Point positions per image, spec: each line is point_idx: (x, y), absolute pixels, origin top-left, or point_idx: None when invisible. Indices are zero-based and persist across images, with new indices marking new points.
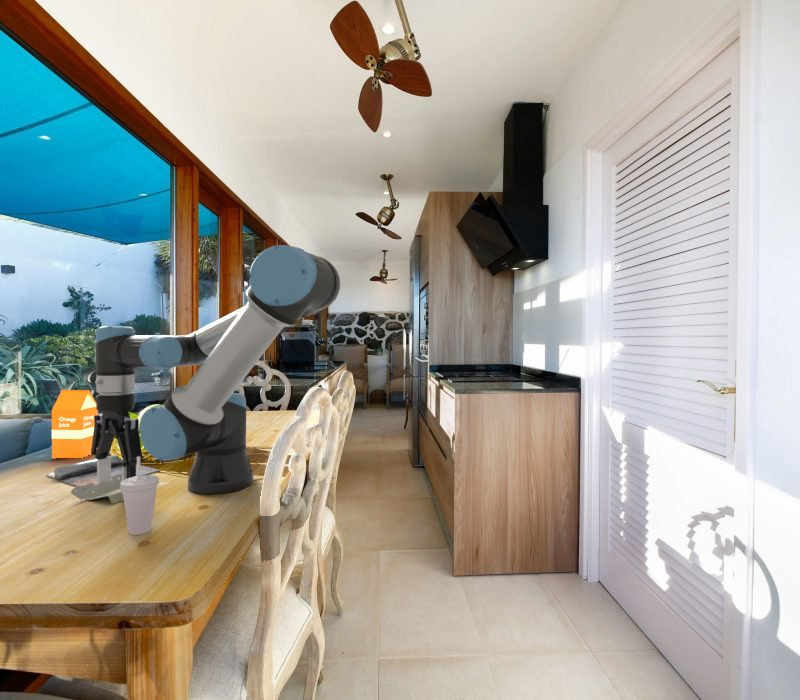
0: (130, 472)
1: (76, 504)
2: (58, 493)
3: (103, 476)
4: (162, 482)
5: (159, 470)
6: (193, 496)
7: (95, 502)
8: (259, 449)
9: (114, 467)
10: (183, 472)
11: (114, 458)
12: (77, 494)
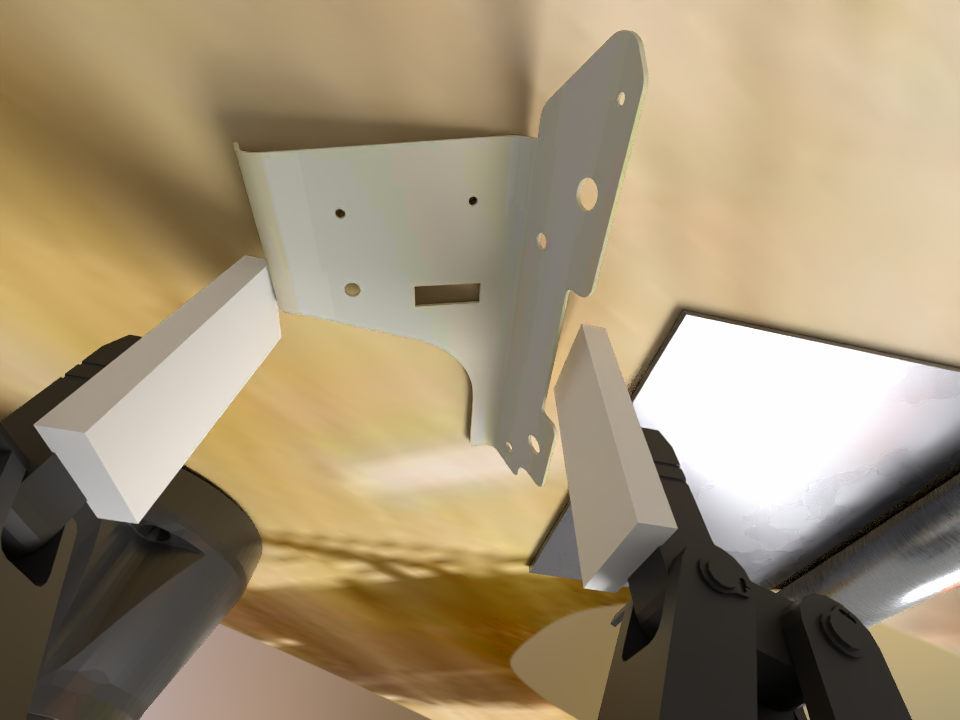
0: (53, 390)
1: (515, 15)
2: (903, 197)
3: (581, 401)
4: (377, 488)
5: (531, 569)
6: (14, 394)
7: (402, 127)
8: (400, 696)
9: (786, 565)
10: (419, 570)
11: None
12: (582, 93)
